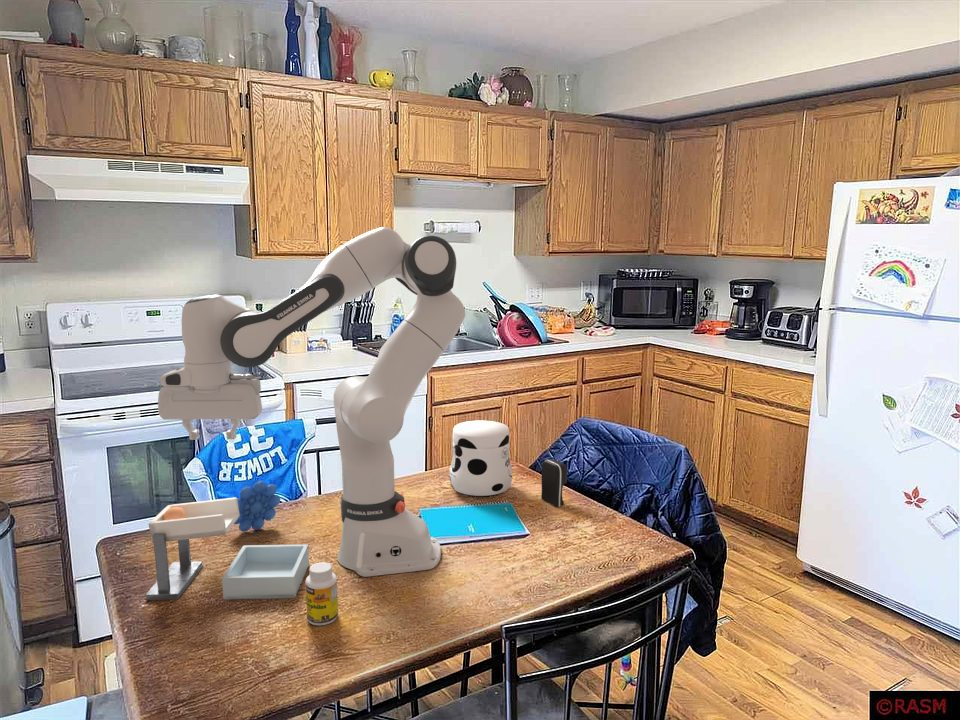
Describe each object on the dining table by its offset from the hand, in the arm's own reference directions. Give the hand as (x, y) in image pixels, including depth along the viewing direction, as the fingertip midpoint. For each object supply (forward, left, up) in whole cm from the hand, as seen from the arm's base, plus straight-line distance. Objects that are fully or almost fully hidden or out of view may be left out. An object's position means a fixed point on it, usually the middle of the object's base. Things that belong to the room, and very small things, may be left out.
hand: (213, 438), depth 139 cm
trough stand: (+6, +10, -27) cm, 29 cm away
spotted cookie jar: (-58, -37, -27) cm, 74 cm away
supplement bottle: (-26, +24, -27) cm, 44 cm away
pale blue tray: (-13, +10, -27) cm, 31 cm away
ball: (+5, +10, -13) cm, 17 cm away
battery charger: (-77, -28, -27) cm, 87 cm away
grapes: (-3, -15, -27) cm, 32 cm away
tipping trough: (+1, +6, -16) cm, 17 cm away
